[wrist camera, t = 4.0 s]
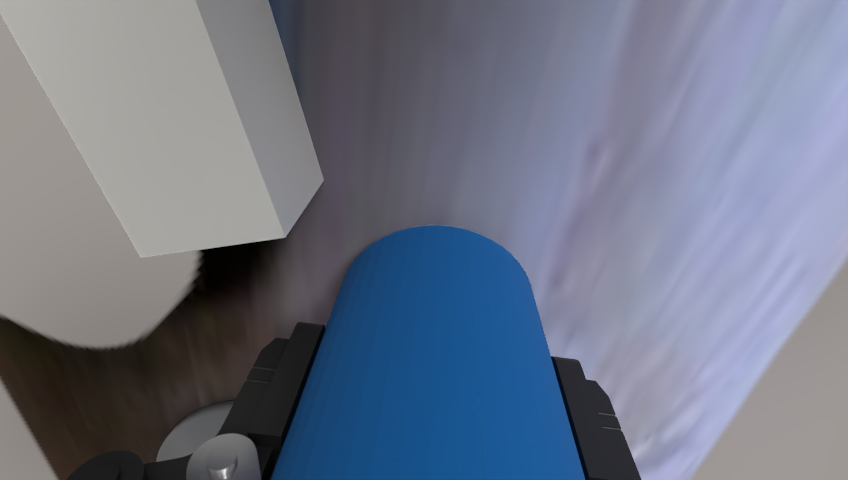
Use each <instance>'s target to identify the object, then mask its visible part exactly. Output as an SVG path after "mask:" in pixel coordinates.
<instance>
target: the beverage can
mask: <svg viewBox="0 0 848 480" xmlns="http://www.w3.org/2000/svg"><path fill="white" fill-rule="evenodd" d="M270 480H585V477H584V473H583V470H582V466H581V463H580V459H579V455H578V452H577V448H576V445H575V441H574V438H573V434H572V431H571V427H570V423H569V420H568V416H567V413H566V409H565V406H564V402H563V399H562V395H561V391H560V388H559V384H558V381H557V377H556V374H555V370H554V366H553V363H552V359H551V356H550V352H549V349H548V345H547V342H546V338H545V334H544V331H543V327H542V324H541V320H540V317H539V313H538V310H537V306H536V302H535V299H534V295H533V292H532V288H531V285H530V282H529V280H528V277H527V275H526V273H525V271H524V270H523V268H522V267H521V265H520V264H519V262H518V261H517V260H516V259H515V258H514V257H513V256H512V254H511V253H509V252H508V251H507V250H506V249H505V248H504V247H502V246H501V245H500V244H498V243H496V242H495V241H493V240H492V239H490V238H488V237H486V236H484V235H482V234H480V233H477V232H474V231H471V230H468V229H465V228H460V227H455V226H448V225H421V226H414V227H409V228H405V229H401V230H398V231H395V232H393V233H390V234H388V235H385V236H384V237H382V238H380V239H378V240H376V241H375V242H373V243H372V244H371V245H369V246H368V247H367V248H365V249H364V250H363V251H362V252H361V253H360V254H359V255H358V256H357V257H356V259H355V260H354V261H353V263H352V264H351V266H350V267H349V269H348V271H347V273H346V275H345V277H344V280H343V282H342V285H341V288H340V291H339V293H338V296H337V299H336V302H335V304H334V307H333V310H332V313H331V315H330V318H329V321H328V323H327V326H326V329H325V332H324V334H323V337H322V340H321V343H320V345H319V348H318V351H317V354H316V356H315V359H314V362H313V364H312V367H311V370H310V373H309V375H308V378H307V381H306V384H305V386H304V389H303V392H302V395H301V397H300V400H299V403H298V405H297V408H296V411H295V414H294V416H293V419H292V422H291V425H290V427H289V430H288V433H287V436H286V438H285V441H284V444H283V446H282V449H281V452H280V455H279V457H278V460H277V463H276V466H275V468H274V471H273V474H272V477H271V479H270Z"/></svg>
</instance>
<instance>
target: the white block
mask: <svg viewBox="0 0 848 480" xmlns="http://www.w3.org/2000/svg"><path fill="white" fill-rule="evenodd" d="M0 15H1V17H2V19H3V20H4V22H5V24H6V26H7V27H8V29H9V31H10V32H11V34H12V36H13V38H14V39H15V41H16V43H17V45H18V46H19V48H20V50H21V52H22V53H23V55H24V57H25V58H26V60H27V62H28V64H29V66H30V67H31V69H32V71H33V72H34V74H35V76H36V78H37V79H38V81H39V83H40V84H41V86H42V88H43V90H44V92H45V93H46V95H47V97H48V98H49V100H50V102H51V104H52V105H53V107H54V109H55V111H56V112H57V114H58V116H59V118H60V119H61V121H62V123H63V125H64V126H65V128H66V130H67V131H68V133H69V135H70V137H71V138H72V140H73V142H74V144H75V145H76V147H77V149H78V151H79V152H80V154H81V156H82V157H83V159H84V161H85V163H86V164H87V166H88V168H89V170H90V171H91V173H92V175H93V176H94V178H95V180H96V182H97V183H98V185H99V187H100V188H101V190H102V192H103V194H104V196H105V197H106V199H107V201H108V202H109V204H110V206H111V208H112V210H113V211H114V213H115V215H116V216H117V218H118V220H119V222H120V223H121V225H122V227H123V229H124V230H125V232H126V234H127V236H128V237H129V239H130V241H131V242H132V244H133V246H134V248H135V249H136V251H137V253H138V255H139V256H140V258H146V257H153V256H160V255H167V254H174V253H181V252H188V251H195V250H202V249H209V248H216V247H223V246H230V245H237V244H244V243H251V242H258V241H265V240H272V239H280V238H286V236H287V235H288V233H289V232H290V230H291V229H292V227H293V226H294V224H295V223H296V221H297V220H298V218H299V217H300V215H301V214H302V212H303V211H304V209H305V208H306V206H307V205H308V204H309V202H310V201H311V199H312V198H313V196H314V195H315V193H316V192H317V190H318V189H319V187H320V186H321V184H322V183H323V181H324V179H323V175H322V172H321V169H320V166H319V162H318V159H317V156H316V153H315V149H314V146H313V143H312V140H311V137H310V133H309V130H308V127H307V124H306V120H305V117H304V114H303V111H302V107H301V104H300V101H299V98H298V94H297V91H296V88H295V85H294V81H293V78H292V75H291V72H290V68H289V65H288V62H287V59H286V55H285V52H284V49H283V46H282V42H281V39H280V36H279V33H278V30H277V26H276V23H275V20H274V17H273V13H272V10H271V7H270V4H269V0H0Z"/></svg>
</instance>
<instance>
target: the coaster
mask: <svg viewBox="0 0 848 480" xmlns="http://www.w3.org/2000/svg"><path fill="white" fill-rule="evenodd" d="M234 402H235V400H233V401H226V402H221V403H217V404H212V405H209V406H207V407H204V408H201V409H199V410H197V411H195V412H193V413H191V414H189V415H187V416H186V417H185V418H183V419H182V420H181V421H179V422H178V423H177V424H176V425H175V427H174V428H173V429H172V430H171V431H170V433H169V434H168V436H167V438H166V439H165V441H164V442H163V444H162V446H161V448H160V449H159V452H158V455H157V459H156V462H159V461H165V460H170V459H176V458H180V457H184V456H187V455H190V454H192V453H194V452H195V451H196V450H197V449H198V448H199V447H200V446H201V445H202V444H203V443H205V442H206V441H208V440H210V439H212V438H214V437H215V436H216V435H217V434H218V432H219V430H220V429H221V427H222V425H223V423H224V421H225V419H226V417H227V415H228V414H229V412H230V410H231V408H232V406H233V404H234Z"/></svg>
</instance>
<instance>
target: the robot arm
mask: <svg viewBox="0 0 848 480" xmlns="http://www.w3.org/2000/svg"><path fill="white" fill-rule="evenodd" d="M324 332H325V325H318V324H311V323H303V322H298V323H297V325H296V327H295V329H294V331H293V333H292V335H291V338H290V340H288V339H281V338H275V339H274V340H273V341H272V342H271V343H269V344H268V345H267V346H266V347H265V348H264V349H262V350H261V352H260V354H259V356H258V358H257V360H256V362H255V364H254V367H253V369H252V370H251V371H250V373H249V375H248V377H247V381H246V382H245V383H244V385H243V387H242V389H241V391H240V392H239V394H238V396H237V398H236V400H235V402H234V404H233V406H232V408H231V410H230V412H229V414H228V415H227V417H226V419H225V421H224V423H223V425H222V427H221V429H220V430H219V432H218V434H217V435H216V436H215V437H214V438H212V439H210V440H208V441H206V442H205V443H203V444H202V445H201V446H200V447H199V448H198V449H197V450H196V451H195V452H194V453H192V454H190V455H187V456H184V457H180V458H176V459H170V460H165V461H159V462H153V463H148V464H143V462H142V460H141V459H140V457H139V456H138V455H136V454H134V453H132V452H129V451H112V452H107V453H104V454H101V455H99V456H96V457H94V458H92V459H90V460H89V461H87V462H85V463H84V464H82V465H81V466H80V467H79V468H77V469H76V470H75V471H74V472H73V473H72V474H71V475H70V476H69V477H68V479H67V480H270V479H271V477H272V474H273V471H274V468H275V466H276V463H277V460H278V457H279V455H280V452H281V449H282V446H283V444H284V441H285V438H286V436H287V433H288V430H289V427H290V425H291V422H292V419H293V416H294V414H295V411H296V408H297V405H298V403H299V400H300V397H301V395H302V392H303V389H304V386H305V384H306V381H307V378H308V375H309V373H310V370H311V367H312V364H313V362H314V359H315V356H316V354H317V351H318V348H319V345H320V343H321V340H322V337H323V334H324ZM551 359H552V363H553V366H554V370H555V374H556V377H557V381H558V384H559V388H560V391H561V395H562V399H563V402H564V406H565V409H566V413H567V416H568V420H569V423H570V427H571V431H572V434H573V438H574V441H575V445H576V448H577V452H578V455H579V459H580V463H581V466H582V470H583V473H584V477H585V480H641V478H640V475H639V473H638V470H637V467H636V465H635V462H634V460H633V457H632V455H631V452H630V450H629V447H628V445H627V442H626V440H625V437H624V435H623V432H622V431H621V427H620V424H619V422H618V419H617V417H615V412H614V409H613V407H612V404H611V402H610V399H609V397H608V395H607V394H606V393H605V392H604V391H603V389H602V388H601V387H600V386H599V385H598V383H597V382H596V381H592V380H586V378H585V375H584V372H583V370H582V367H581V364H580V362H579V361H578V360H575V359H568V358H560V357H553V356H551Z"/></svg>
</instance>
